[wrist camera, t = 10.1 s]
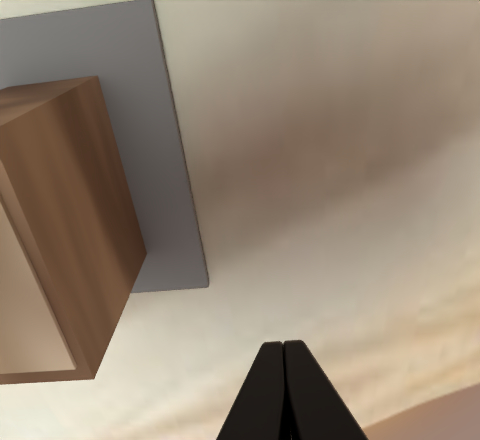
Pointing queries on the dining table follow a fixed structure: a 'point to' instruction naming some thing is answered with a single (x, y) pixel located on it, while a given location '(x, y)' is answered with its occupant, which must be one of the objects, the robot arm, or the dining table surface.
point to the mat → (122, 119)
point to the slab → (61, 232)
